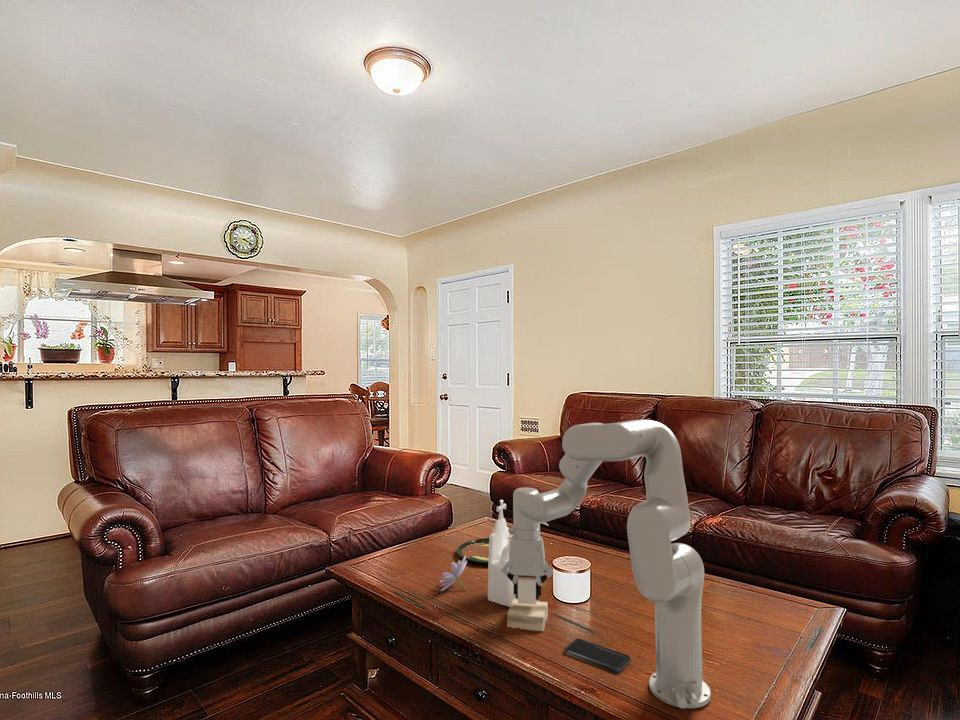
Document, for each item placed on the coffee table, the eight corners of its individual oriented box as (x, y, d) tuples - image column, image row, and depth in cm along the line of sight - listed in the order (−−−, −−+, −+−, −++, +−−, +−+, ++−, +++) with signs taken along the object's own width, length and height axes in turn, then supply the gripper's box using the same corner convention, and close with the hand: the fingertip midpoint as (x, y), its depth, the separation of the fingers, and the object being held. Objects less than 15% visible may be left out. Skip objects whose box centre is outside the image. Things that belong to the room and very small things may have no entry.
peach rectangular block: (535, 604, 145) (535, 578, 145) (517, 603, 146) (517, 577, 146) (536, 596, 150) (536, 571, 150) (519, 595, 151) (519, 570, 151)
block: (543, 632, 142) (543, 617, 142) (507, 628, 144) (507, 614, 144) (547, 616, 151) (547, 602, 151) (513, 612, 154) (513, 598, 154)
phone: (618, 671, 121) (562, 649, 131) (618, 676, 121) (562, 654, 131) (632, 656, 127) (577, 637, 137) (632, 661, 127) (577, 641, 137)
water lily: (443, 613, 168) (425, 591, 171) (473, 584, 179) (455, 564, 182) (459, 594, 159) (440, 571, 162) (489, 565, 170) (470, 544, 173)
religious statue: (522, 614, 152) (523, 511, 152) (484, 601, 160) (485, 503, 160) (551, 593, 166) (551, 499, 166) (514, 583, 174) (515, 492, 174)
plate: (541, 550, 206) (541, 544, 206) (507, 574, 182) (507, 567, 183) (481, 539, 221) (481, 533, 221) (442, 560, 197) (442, 553, 197)
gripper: (495, 535, 146) (495, 601, 146) (556, 538, 143) (557, 605, 143) (498, 527, 153) (499, 590, 153) (557, 529, 151) (558, 593, 150)
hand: (527, 596), depth 148 cm, fingers closed on peach rectangular block, 5 cm apart
